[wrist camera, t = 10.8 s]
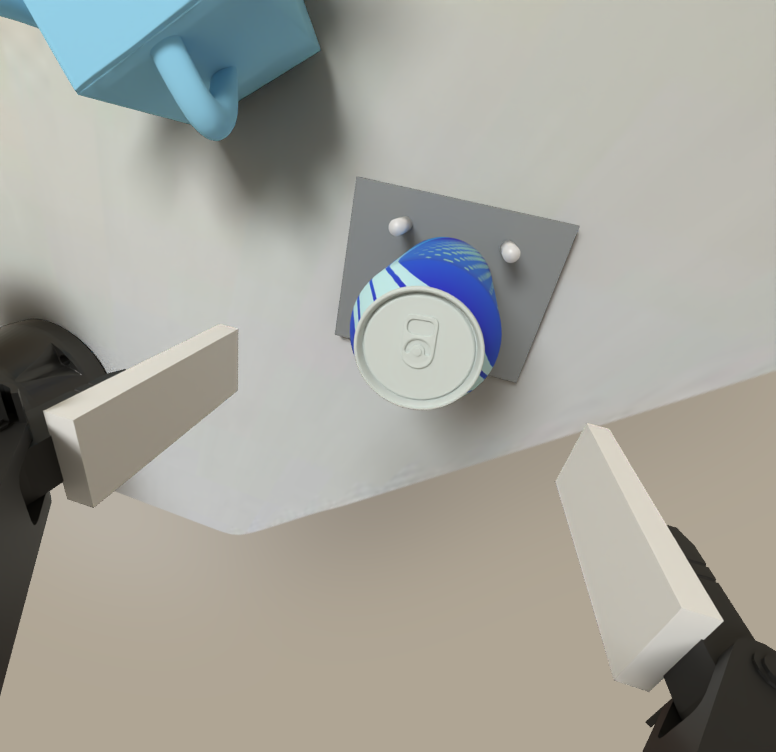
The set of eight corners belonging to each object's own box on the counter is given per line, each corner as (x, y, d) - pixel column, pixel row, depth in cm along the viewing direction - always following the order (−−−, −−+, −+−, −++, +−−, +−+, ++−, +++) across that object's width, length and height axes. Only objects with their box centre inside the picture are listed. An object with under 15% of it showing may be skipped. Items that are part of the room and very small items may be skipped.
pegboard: (338, 330, 38) (320, 348, 33) (360, 177, 31) (341, 173, 27) (514, 377, 36) (521, 403, 32) (575, 225, 30) (594, 229, 25)
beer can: (512, 290, 32) (542, 363, 17) (437, 349, 35) (412, 450, 21) (447, 212, 30) (421, 224, 16) (376, 283, 34) (304, 343, 20)
